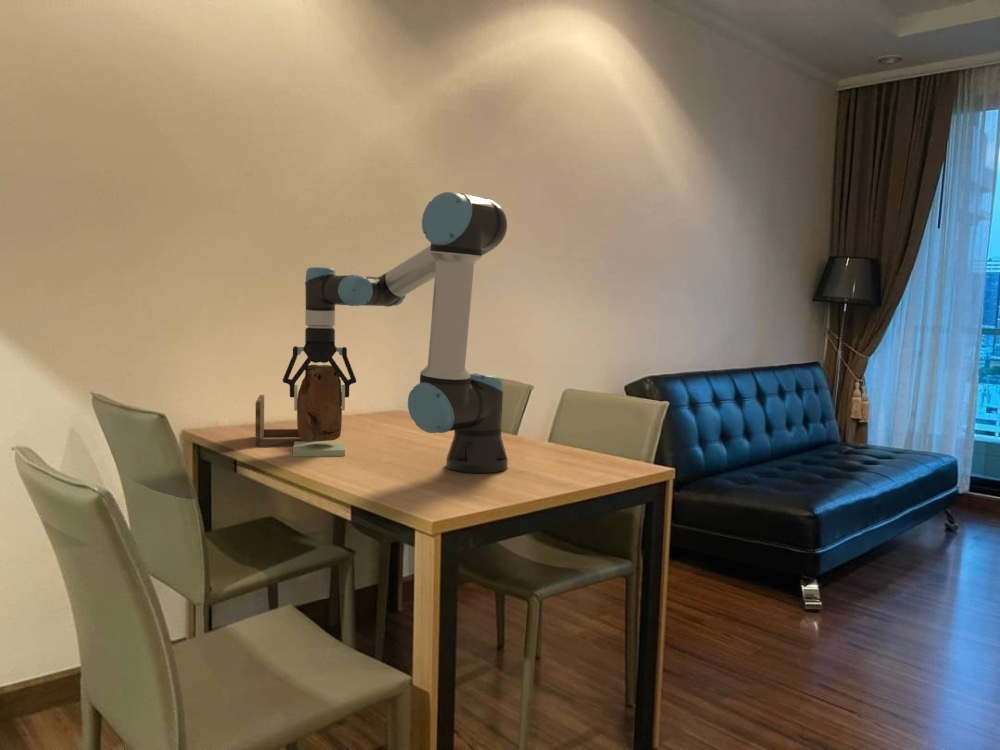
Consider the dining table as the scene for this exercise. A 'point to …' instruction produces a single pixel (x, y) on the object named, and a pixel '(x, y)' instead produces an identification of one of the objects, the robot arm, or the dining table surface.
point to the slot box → (271, 430)
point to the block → (319, 404)
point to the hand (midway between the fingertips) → (319, 409)
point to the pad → (319, 448)
